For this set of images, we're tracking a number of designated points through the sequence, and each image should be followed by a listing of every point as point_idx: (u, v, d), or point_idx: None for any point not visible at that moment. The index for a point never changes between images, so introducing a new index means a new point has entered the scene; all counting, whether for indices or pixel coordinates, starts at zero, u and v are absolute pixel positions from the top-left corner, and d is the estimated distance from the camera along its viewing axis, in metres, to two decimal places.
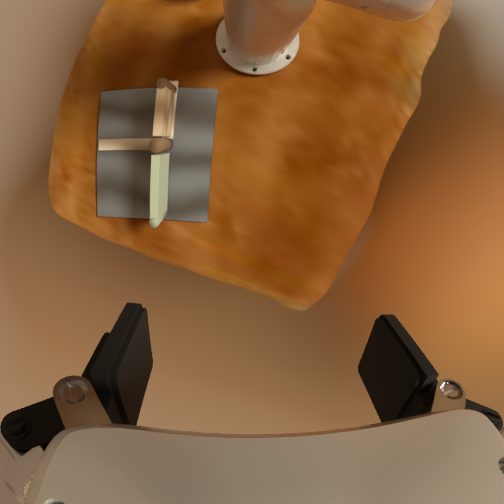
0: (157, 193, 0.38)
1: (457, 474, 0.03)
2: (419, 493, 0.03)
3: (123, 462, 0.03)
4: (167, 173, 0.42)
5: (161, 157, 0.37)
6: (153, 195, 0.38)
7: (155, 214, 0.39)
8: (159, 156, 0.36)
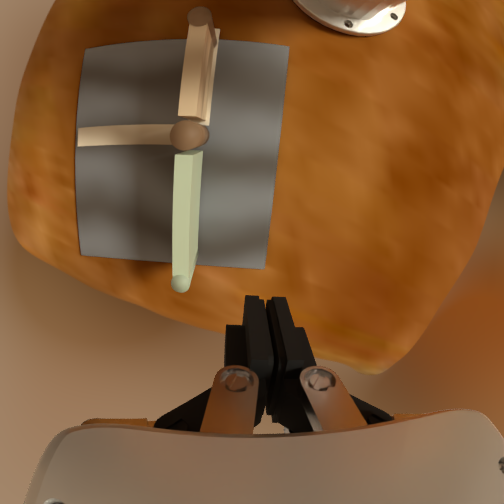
0: (187, 230, 0.20)
1: (457, 474, 0.03)
2: (419, 493, 0.03)
3: (123, 462, 0.03)
4: (199, 187, 0.24)
5: (194, 159, 0.19)
6: (179, 234, 0.20)
7: (183, 269, 0.21)
8: (191, 157, 0.18)
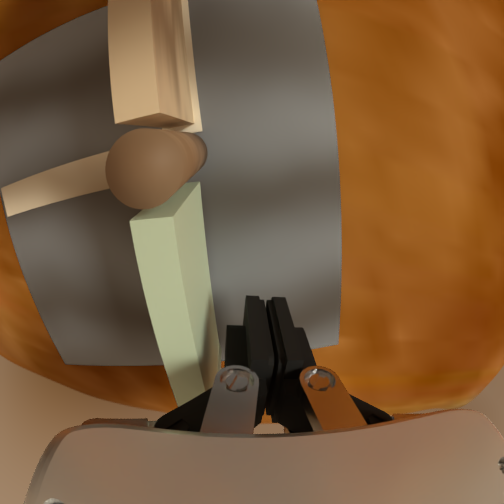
0: (195, 370, 0.09)
1: (457, 474, 0.03)
2: (419, 493, 0.03)
3: (123, 462, 0.03)
4: (205, 252, 0.13)
5: (180, 220, 0.08)
6: (181, 376, 0.09)
7: None
8: (171, 222, 0.07)
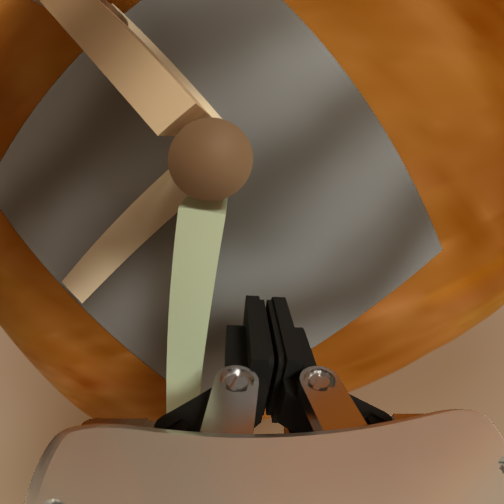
0: (197, 367, 0.09)
1: (457, 474, 0.03)
2: (419, 493, 0.03)
3: (123, 462, 0.03)
4: None
5: None
6: (180, 371, 0.09)
7: None
8: (221, 219, 0.07)
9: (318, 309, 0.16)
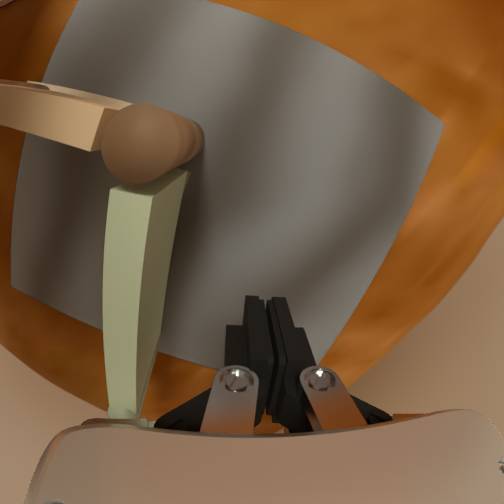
0: (132, 351, 0.09)
1: (457, 474, 0.03)
2: (419, 493, 0.03)
3: (123, 462, 0.03)
4: (171, 240, 0.13)
5: (158, 203, 0.08)
6: (116, 353, 0.09)
7: (126, 401, 0.10)
8: (148, 202, 0.07)
9: (355, 240, 0.15)
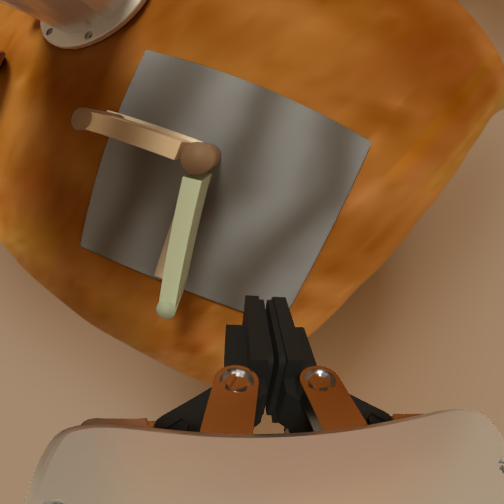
0: (181, 258, 0.19)
1: (457, 474, 0.03)
2: (419, 493, 0.03)
3: (123, 462, 0.03)
4: (201, 211, 0.23)
5: (201, 184, 0.18)
6: (172, 260, 0.19)
7: (171, 296, 0.20)
8: (199, 183, 0.18)
9: (310, 216, 0.25)
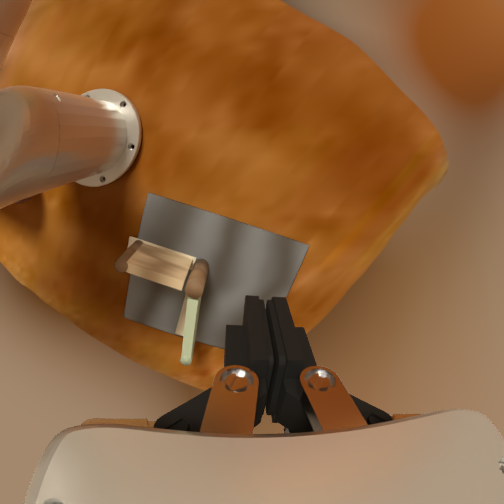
0: (192, 336, 0.34)
1: (457, 474, 0.03)
2: (419, 493, 0.03)
3: (123, 462, 0.03)
4: (200, 300, 0.38)
5: (198, 299, 0.33)
6: (187, 337, 0.34)
7: (188, 354, 0.35)
8: (197, 301, 0.32)
9: (269, 296, 0.40)
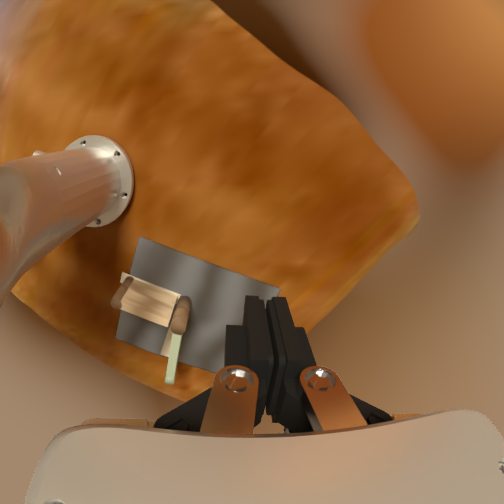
0: (175, 363, 0.38)
1: (457, 474, 0.03)
2: (419, 493, 0.03)
3: (123, 462, 0.03)
4: None
5: None
6: (171, 363, 0.39)
7: (171, 376, 0.39)
8: (180, 336, 0.37)
9: None
